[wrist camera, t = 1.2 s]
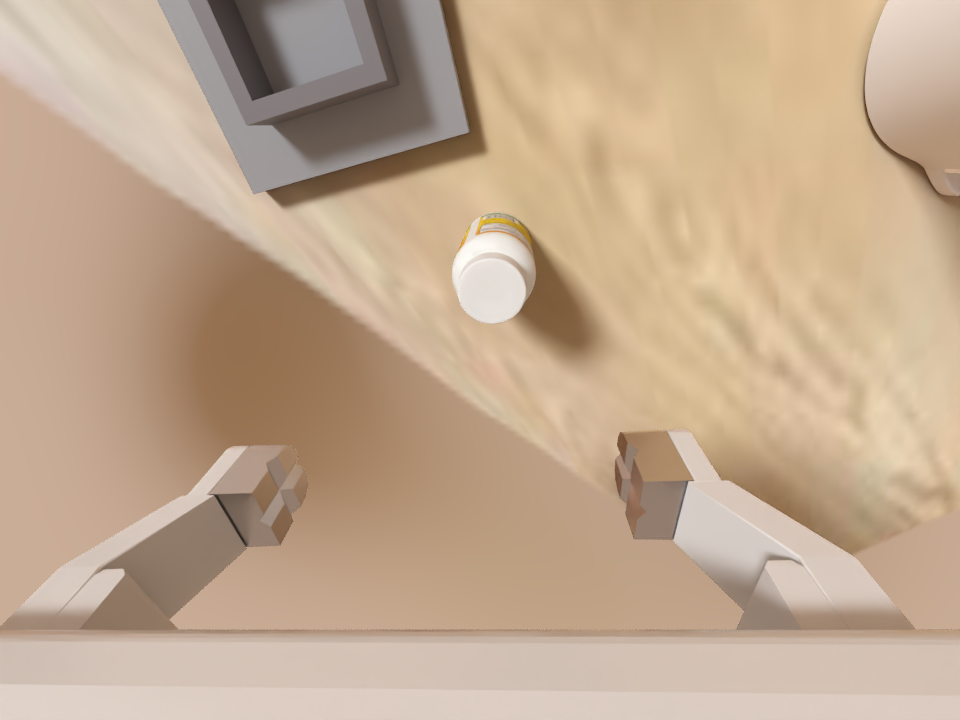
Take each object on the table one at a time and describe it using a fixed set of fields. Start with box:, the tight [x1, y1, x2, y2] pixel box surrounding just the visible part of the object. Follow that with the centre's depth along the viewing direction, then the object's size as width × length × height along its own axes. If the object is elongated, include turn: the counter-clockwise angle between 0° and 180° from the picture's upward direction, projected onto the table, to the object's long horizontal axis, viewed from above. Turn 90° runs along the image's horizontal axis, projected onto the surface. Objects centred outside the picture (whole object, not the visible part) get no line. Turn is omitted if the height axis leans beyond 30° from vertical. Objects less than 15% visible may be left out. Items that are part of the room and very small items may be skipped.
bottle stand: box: [157, 0, 471, 194], centre depth 22 cm, size 16×16×4 cm
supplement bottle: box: [452, 212, 536, 324], centre depth 27 cm, size 5×5×10 cm
